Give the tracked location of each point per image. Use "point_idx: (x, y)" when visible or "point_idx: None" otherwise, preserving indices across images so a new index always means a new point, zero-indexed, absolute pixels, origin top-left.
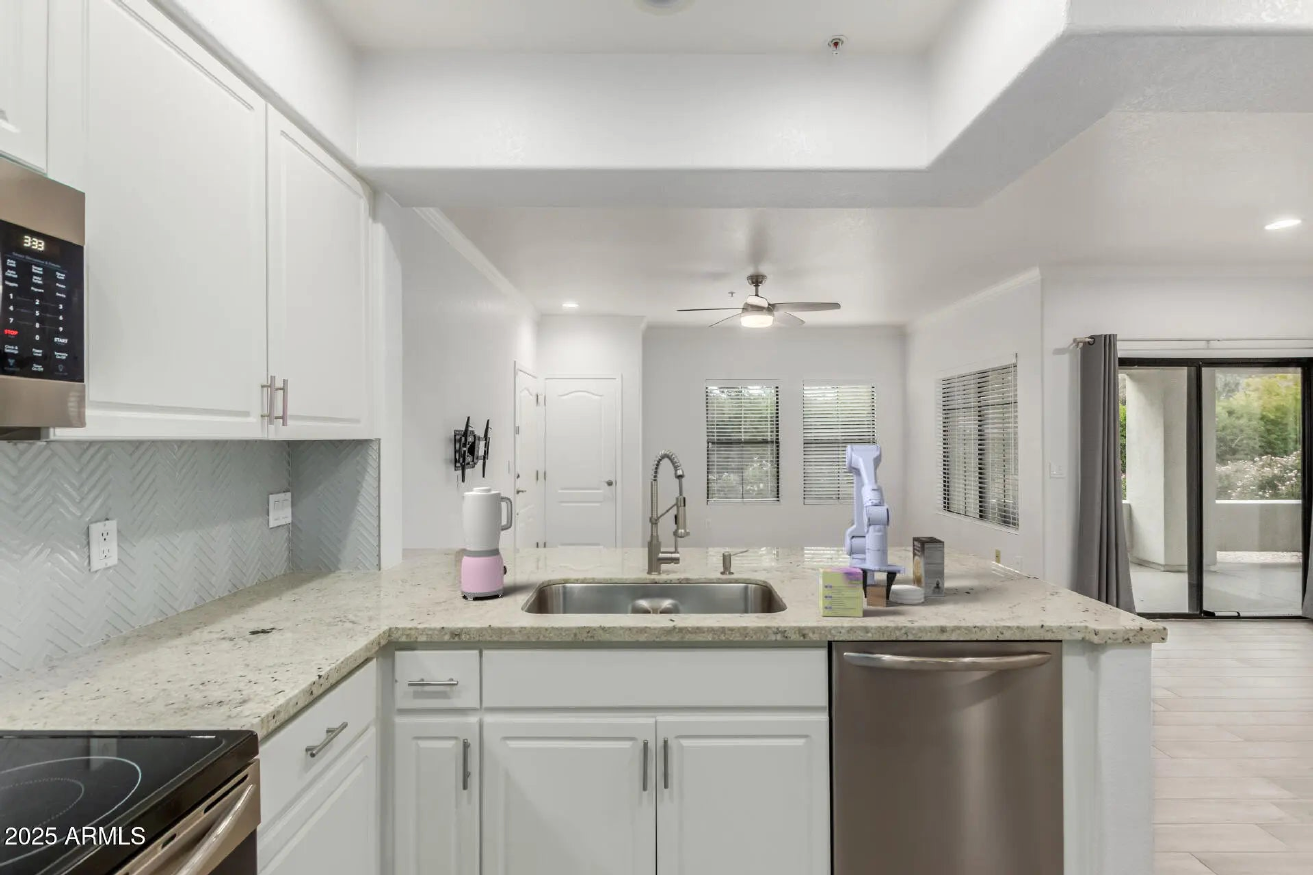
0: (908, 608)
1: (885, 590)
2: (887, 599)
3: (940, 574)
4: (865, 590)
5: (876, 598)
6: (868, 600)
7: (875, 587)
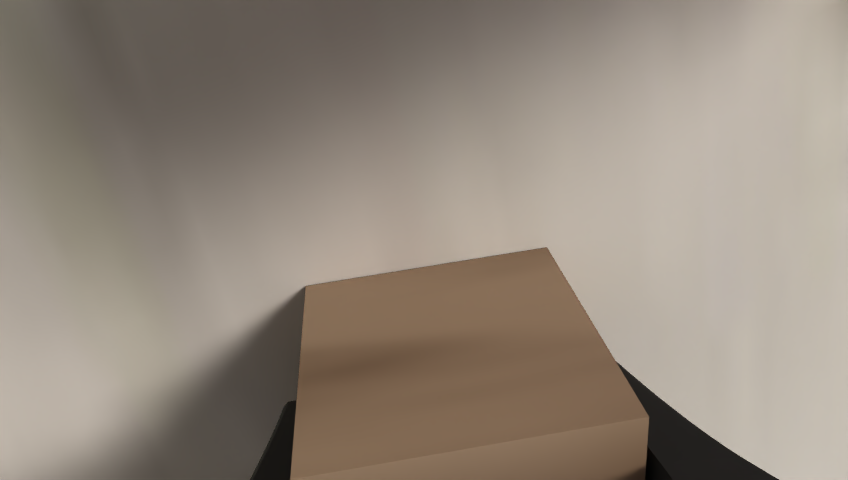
0: (37, 363)
1: (298, 451)
2: None
3: None
4: None
5: (438, 327)
6: (543, 286)
7: (490, 476)
